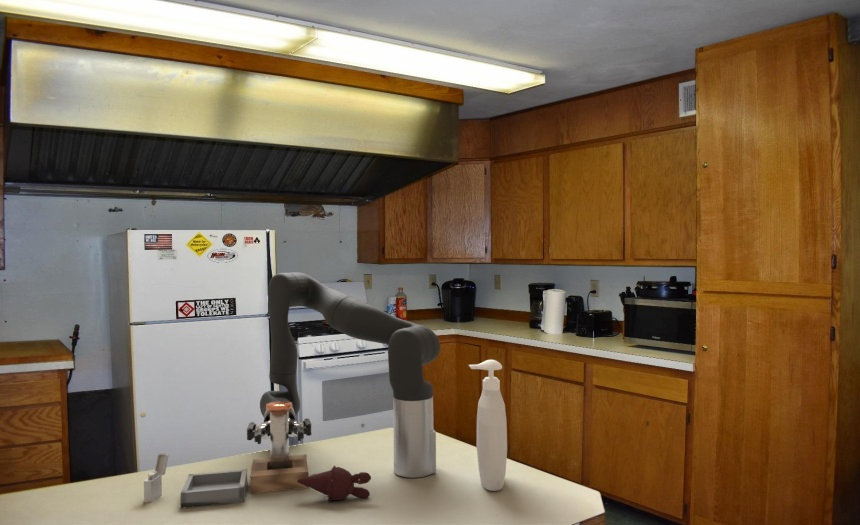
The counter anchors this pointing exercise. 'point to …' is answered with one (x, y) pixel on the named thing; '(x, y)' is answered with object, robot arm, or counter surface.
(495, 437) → the soap bottle
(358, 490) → the icecream
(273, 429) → the pin
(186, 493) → the tray
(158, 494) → the lighter
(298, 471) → the hitch block
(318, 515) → the counter surface
